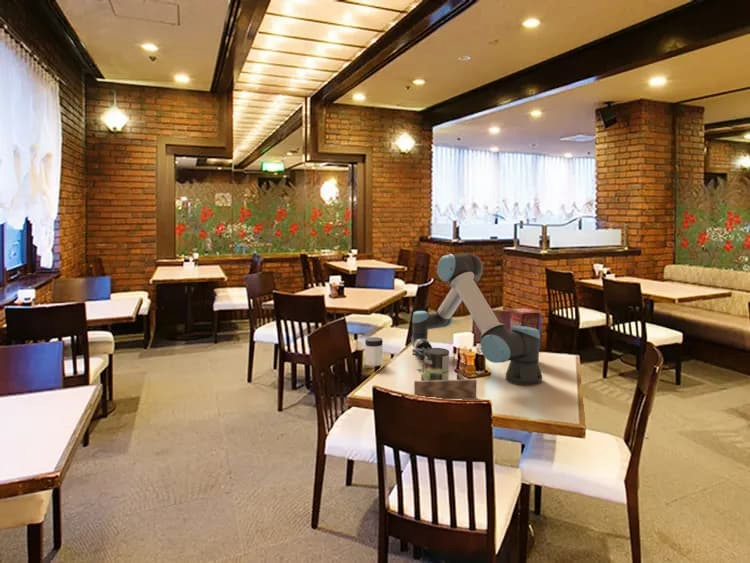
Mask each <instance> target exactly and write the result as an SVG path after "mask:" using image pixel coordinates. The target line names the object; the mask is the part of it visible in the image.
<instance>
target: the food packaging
mask: <svg viewBox="0 0 750 563" xmlns="http://www.w3.org/2000/svg"><path fill="white" fill-rule="evenodd" d="M509 311H510V314H509V315H510V316H509V327H510V328H509V331H511V328H512V326H525V327H531V328H535V329H537V330H538V331H539V332H540V312H539V311H535V310H533V309H530V308H527V307H514V308H510V310H509Z"/></svg>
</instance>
